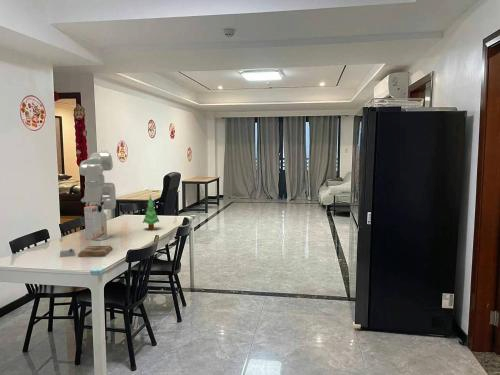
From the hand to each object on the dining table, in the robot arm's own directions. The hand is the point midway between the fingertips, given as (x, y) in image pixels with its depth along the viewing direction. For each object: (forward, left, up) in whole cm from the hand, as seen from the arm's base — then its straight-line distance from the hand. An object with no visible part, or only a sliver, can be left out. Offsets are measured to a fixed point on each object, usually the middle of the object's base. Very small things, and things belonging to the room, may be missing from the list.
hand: (94, 211), depth 228 cm
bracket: (+3, -17, -28) cm, 32 cm away
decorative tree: (-71, +21, -28) cm, 79 cm away
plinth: (0, 0, -27) cm, 27 cm away
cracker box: (0, 0, -17) cm, 17 cm away
